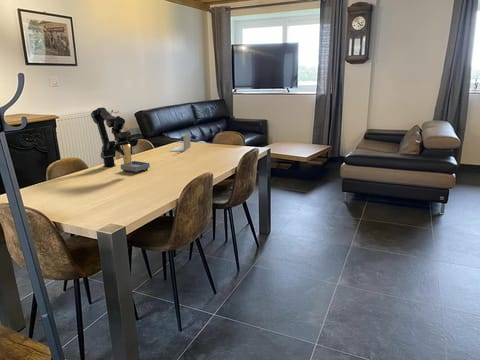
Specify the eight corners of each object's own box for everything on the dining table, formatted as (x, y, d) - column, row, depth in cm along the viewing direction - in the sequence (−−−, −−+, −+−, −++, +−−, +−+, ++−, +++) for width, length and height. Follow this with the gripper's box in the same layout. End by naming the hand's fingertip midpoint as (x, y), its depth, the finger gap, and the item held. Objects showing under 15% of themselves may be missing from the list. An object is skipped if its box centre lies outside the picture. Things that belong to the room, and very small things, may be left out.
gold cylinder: (122, 165, 224) (120, 145, 220) (127, 163, 228) (125, 143, 224) (128, 165, 222) (126, 145, 219) (133, 163, 227) (131, 144, 223)
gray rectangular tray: (121, 171, 237) (120, 164, 235) (134, 167, 247) (134, 160, 245) (136, 173, 230) (135, 167, 229) (150, 169, 240) (149, 163, 238)
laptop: (176, 147, 312) (175, 132, 308) (190, 147, 310) (190, 132, 306) (169, 151, 295) (168, 135, 291) (184, 151, 293) (183, 135, 289)
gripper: (106, 128, 215) (115, 149, 211) (135, 124, 227) (145, 144, 222) (102, 139, 223) (112, 160, 219) (131, 135, 235) (140, 155, 230)
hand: (127, 154), depth 222 cm, fingers closed on gold cylinder, 5 cm apart
